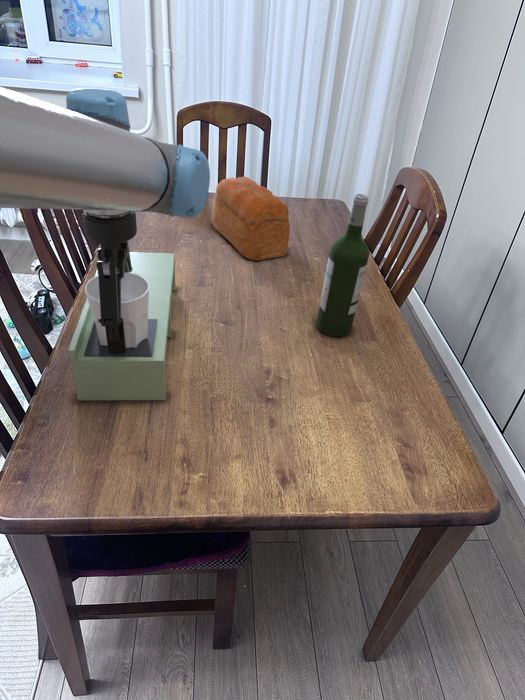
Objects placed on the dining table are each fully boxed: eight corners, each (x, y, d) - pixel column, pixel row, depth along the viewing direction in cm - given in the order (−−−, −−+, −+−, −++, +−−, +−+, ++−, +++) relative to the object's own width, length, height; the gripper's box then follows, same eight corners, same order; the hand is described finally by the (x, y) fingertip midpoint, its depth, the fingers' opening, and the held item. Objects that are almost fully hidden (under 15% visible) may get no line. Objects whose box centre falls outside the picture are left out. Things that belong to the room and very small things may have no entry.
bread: (247, 263, 130) (252, 208, 121) (207, 223, 148) (208, 173, 138) (292, 255, 136) (299, 202, 127) (248, 218, 154) (251, 170, 144)
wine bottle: (355, 336, 107) (389, 204, 89) (321, 338, 105) (348, 203, 87) (344, 316, 113) (373, 189, 95) (312, 317, 111) (335, 188, 93)
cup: (89, 324, 86) (81, 275, 80) (145, 316, 90) (142, 268, 84) (96, 358, 79) (88, 307, 73) (157, 348, 83) (155, 298, 77)
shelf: (165, 400, 86) (163, 351, 79) (77, 400, 84) (67, 350, 77) (175, 287, 117) (174, 245, 110) (111, 285, 115) (106, 242, 108)
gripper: (125, 245, 62) (137, 375, 75) (142, 183, 80) (149, 297, 94) (64, 243, 61) (87, 375, 75) (95, 180, 79) (109, 296, 93)
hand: (122, 332), depth 84 cm, fingers open, 11 cm apart
